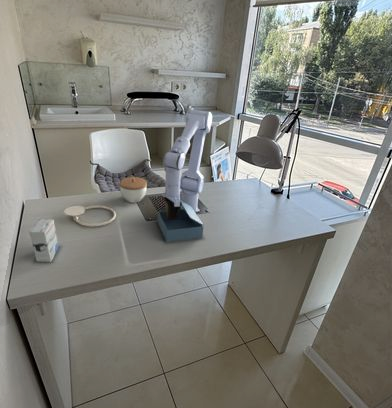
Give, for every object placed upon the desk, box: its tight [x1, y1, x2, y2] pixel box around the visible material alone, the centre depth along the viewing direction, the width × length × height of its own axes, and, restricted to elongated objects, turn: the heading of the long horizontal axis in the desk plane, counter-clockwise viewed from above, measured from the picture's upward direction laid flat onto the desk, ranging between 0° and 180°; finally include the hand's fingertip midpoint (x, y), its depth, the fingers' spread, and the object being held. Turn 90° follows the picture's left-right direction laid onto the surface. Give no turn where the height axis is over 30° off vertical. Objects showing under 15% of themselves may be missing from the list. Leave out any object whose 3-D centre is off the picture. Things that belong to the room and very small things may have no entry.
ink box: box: [29, 218, 59, 263], centre depth 98 cm, size 8×5×12 cm, turn 5°
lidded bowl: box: [119, 176, 148, 204], centre depth 139 cm, size 13×13×11 cm
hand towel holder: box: [63, 204, 117, 228], centre depth 123 cm, size 17×4×21 cm
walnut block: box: [164, 200, 179, 220], centre depth 118 cm, size 4×4×6 cm
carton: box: [157, 208, 204, 243], centre depth 120 cm, size 16×15×5 cm
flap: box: [179, 199, 204, 226], centre depth 119 cm, size 16×7×1 cm
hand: (171, 214), depth 119 cm, fingers closed on walnut block, 4 cm apart
